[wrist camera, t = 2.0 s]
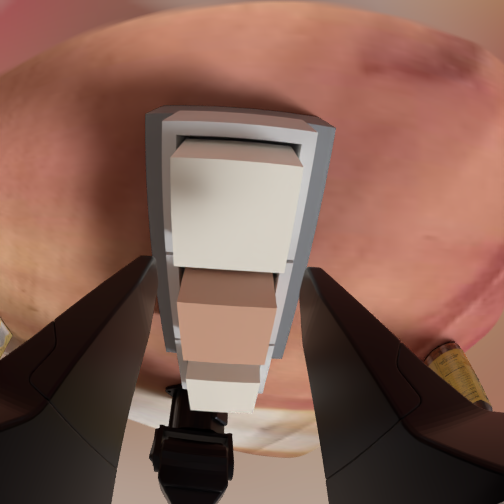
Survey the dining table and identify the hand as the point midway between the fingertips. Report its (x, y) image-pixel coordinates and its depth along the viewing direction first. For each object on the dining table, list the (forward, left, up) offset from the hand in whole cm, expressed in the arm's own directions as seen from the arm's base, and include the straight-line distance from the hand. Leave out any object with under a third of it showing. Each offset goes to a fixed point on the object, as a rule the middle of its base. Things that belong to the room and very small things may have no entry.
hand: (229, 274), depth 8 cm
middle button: (-3, -6, -6) cm, 9 cm away
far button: (-7, -11, -6) cm, 14 cm away
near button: (0, 0, -6) cm, 6 cm away
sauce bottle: (+14, -35, -13) cm, 39 cm away
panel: (-3, -6, -13) cm, 15 cm away
